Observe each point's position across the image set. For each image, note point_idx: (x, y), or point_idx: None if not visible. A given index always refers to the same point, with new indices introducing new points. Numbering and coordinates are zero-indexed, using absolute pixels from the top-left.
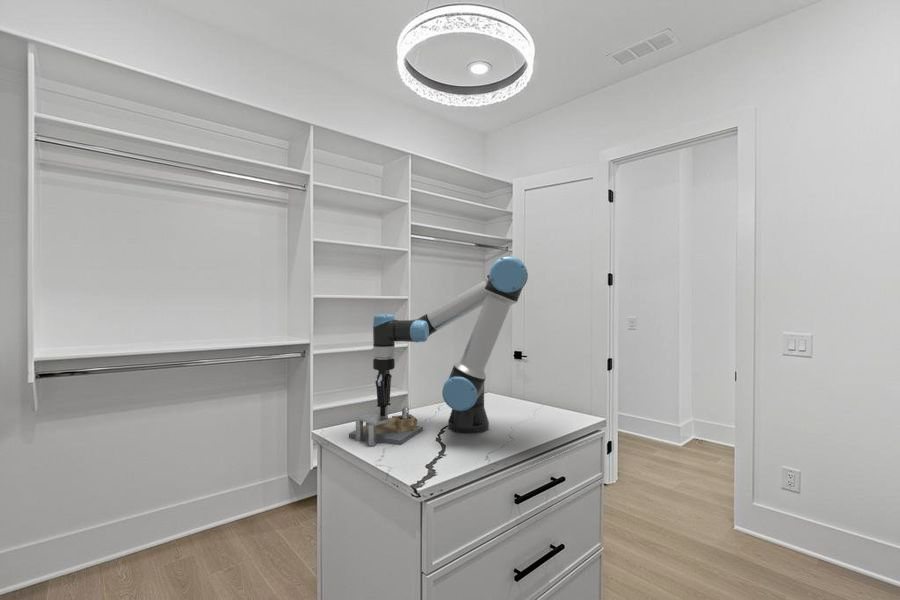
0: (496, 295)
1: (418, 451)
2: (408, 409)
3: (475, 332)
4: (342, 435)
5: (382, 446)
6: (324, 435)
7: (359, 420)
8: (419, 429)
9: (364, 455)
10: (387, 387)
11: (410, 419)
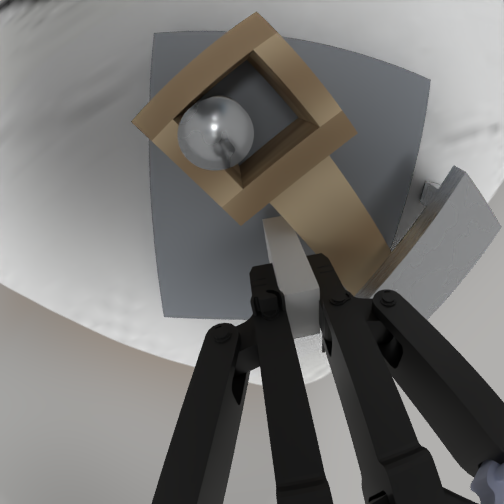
0: None
1: (448, 10)
2: (217, 97)
3: None
4: None
5: (432, 152)
6: None
7: None
8: (206, 32)
9: (491, 183)
10: (321, 467)
11: (288, 55)
